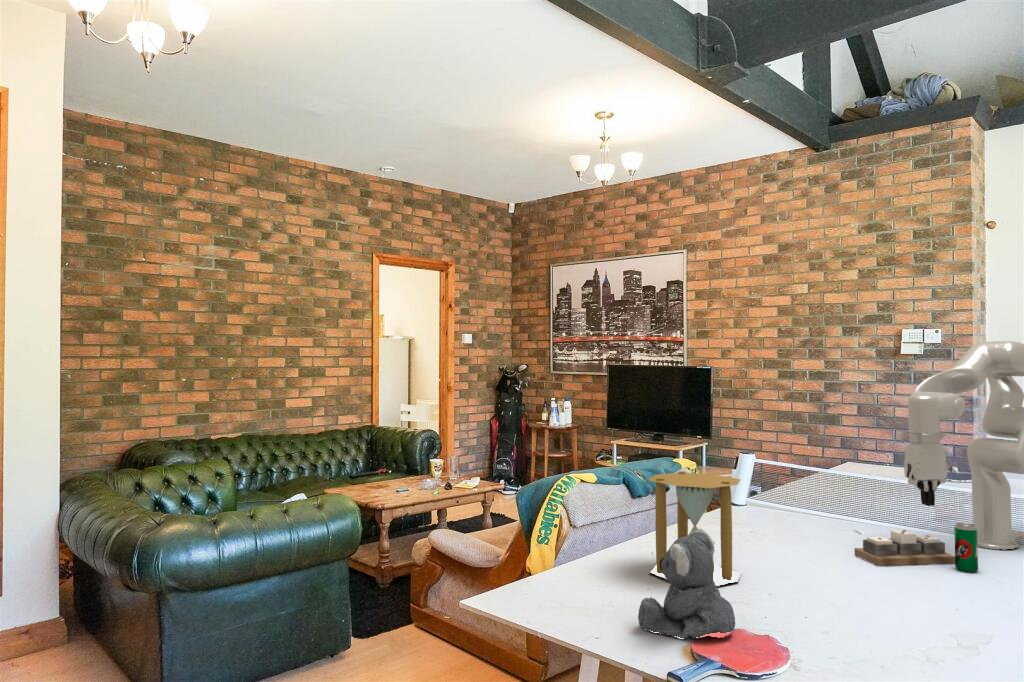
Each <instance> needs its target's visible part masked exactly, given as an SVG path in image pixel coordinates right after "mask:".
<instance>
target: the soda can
mask: <svg viewBox="0 0 1024 682" xmlns="http://www.w3.org/2000/svg"><path fill="white" fill-rule="evenodd" d="M953 527H954V529H953V532H954V556H955V564H954V567H955V568H956V570H957V571H958V572H962V571H963V572H962V573H968V572H969V573H970V574H973V573H977V572H978V571H979V549H978V547H979V546H978V539H977V529H976V527H975V525H974V524H973V523H969V522H956V523H955V526H953ZM969 573H968V574H969Z"/></svg>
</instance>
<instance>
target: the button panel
mask: <svg viewBox="0 0 1024 682" xmlns="http://www.w3.org/2000/svg"><path fill="white" fill-rule="evenodd" d="M888 539H889V540H891V538H888ZM855 555H856V557H857V556H859V557H861V558H860V559H862V558H863V559H862V560H864V559H865V560H864V561H866V560H867V561H866V562H868V561H869V562H868V563H870V562H871V563H870V564H872V563H873V565H874V564H875V566H877V565H878V566H877V567H879V566H884V567H901V566H902V567H905V566H908V565H909V566H930V565H929V564H937V565H955V555H953V554H950V553H947V552H946V543H945V542H944V541H941V540H940V543H923V542H921V541H918V540H916V543H912V544H900V543H898V542H895V541H892V544H883V545H876V544H874V543H872V542H869V541H867V539H863V540H862V547H855V548H854V556H855ZM859 557H858V558H859Z"/></svg>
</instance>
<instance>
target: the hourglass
mask: <svg viewBox="0 0 1024 682" xmlns="http://www.w3.org/2000/svg"><path fill="white" fill-rule="evenodd" d="M647 480H648V481H651V482H654V483H656V484H655V558H656V559H655V561H656V563H655V564H657V572H658V573H663V572H662V570H661V569H660V560H661V559H662V558H663V557H665V555H666V553H667V551H668V550H667V547H668V546H667V543H668V542H667V538H668V532H667V531H668V528H667V526H668V525H667V522H668V521H667V494H666V493H667V490H666V485H670V486H675V494H676V497H677V500H676V502H677V505H676V506H677V508H676V509H677V510H676V511H677V513H676V515H677V523H676V525H677V539H679V538H681V537H682V538H683V537H689V535H690V534H691V531H692V532H694V530H697V531H698V529H699V528H698V527H697V525H698V523H699V521H700V520H701V518H702V517H703V515H704V513H705V512H706V510H707V509H708V506H710V504H711V502H712V499H713V494H714V489H715V488H720V558H721V559H720V560H721V563H720V565H721V568H722V577H723V579H727V580H731V577H732V569H733V516H732V514H733V510H732V489H731V487H732V486H733V487H734V486H738V485H739V484H740V481H741V479H740V478H735V477H730V476H725V475H719V474H711V473H699V472H698V473H697V472H686V471H683V470H680V471H678V472H670V473H669V472H668V473H662V474H661V473H659V474H654V475H653V476H651V477H650V478H649V479H647ZM689 521H690V522H691V523H692V525H693V527H692V528H691V530H690V532H689ZM712 559H713V569H714V563H715V561H714V556H713V557H712Z"/></svg>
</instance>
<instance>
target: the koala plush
mask: <svg viewBox="0 0 1024 682" xmlns="http://www.w3.org/2000/svg"><path fill="white" fill-rule="evenodd" d="M697 529H698V531H697V530H694V532H692V531H691V530H690V532H691V534H690V535H689V534H688V535H689V537H683V538H682V537H681V538H679V539H678V538H677V539H675V541H673V543H672V544H671V545H670V547H669V548H668V550H667V553H666V555H665V557H663V558H662V559H661V560H660V569H661V570H662V572H663V574H664V575H665V577H666V578H667V580H668V581H667V580H666V581H667V582H669V584H670V585H669V587H668V590H667V592H666V595H665V597H664V601H663V606H662V605H661V604H660V603H659V601H658V600H657V599H655V598H653V597H652V596H651V597H644V598H643V599H641V602H640V606H639V609H638V615H637V617H638V618H637V619H638V624H639V626H640V627H641V626H642V627H641V628H642V629H643V628H644V629H646V630H645V631H647V630H649V631H648V632H650V630H651V631H653V632H659V633H661V634H669V635H672V636H671V637H673V636H676V637H677V636H678V637H680V638H687V639H688V638H689V636H690V637H691V638H693V639H695V638H696V637H700V636H703V635H705V634H710V633H717V632H720V633H726V632H731V631H733V632H734V630H735V628H736V617H735V612H734V608H733V606H732V604H731V603H730V601H729V600H727V599H726V598H725V597H723V596H722V595H721V592H720V590H719V589H718V587H716V585H715V583H714V581H713V572H714V569H713V561H714V554H715V543H716V541H714V540H713V539H712V538H711V537H712V536H711V535H709V534H708V533H709V532H707V531H706V530H704V529H702V528H697ZM712 557H713V559H712ZM644 629H643V630H644ZM731 633H732V632H731Z"/></svg>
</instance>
